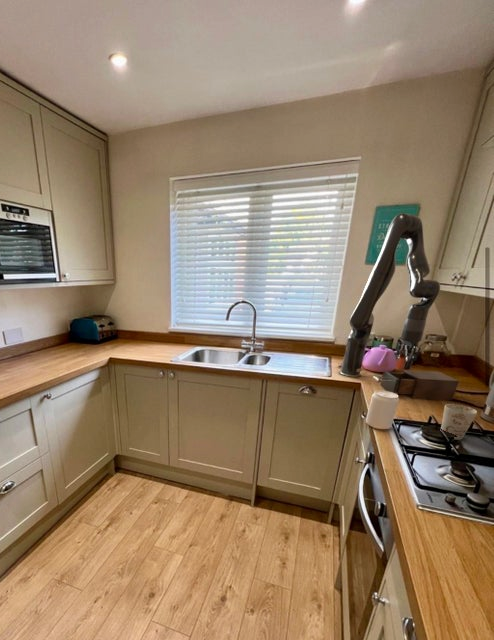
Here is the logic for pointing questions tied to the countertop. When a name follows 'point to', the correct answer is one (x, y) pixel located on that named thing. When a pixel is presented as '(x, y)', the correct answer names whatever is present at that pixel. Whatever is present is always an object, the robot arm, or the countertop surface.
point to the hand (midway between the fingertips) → (402, 367)
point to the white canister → (382, 409)
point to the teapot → (380, 359)
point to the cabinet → (432, 385)
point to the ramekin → (401, 363)
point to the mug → (457, 419)
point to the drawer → (397, 382)
